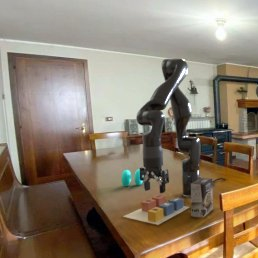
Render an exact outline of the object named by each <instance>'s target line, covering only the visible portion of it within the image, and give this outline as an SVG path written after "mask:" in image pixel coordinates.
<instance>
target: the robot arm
mask: <svg viewBox="0 0 258 258" xmlns="http://www.w3.org/2000/svg"><path fill="white" fill-rule="evenodd" d="M161 72H162V76H163V78H164V79H163V80H164V82H162V83H160V85H159V86H157V87H156V89H155V90H154V91H153V93H152V95H151V97H150V99H149V100H148V101H147V102H146V103H145V104H144V105H143V106H141V108H140V109H139V110H138V111H137V113H136V117H135V119H136V123H137V124H138V125H139V126H142V127H151V129H150V130H149V131H145V132H143V133H142V137H141V138H142V166H141V167H140V168H139V169H140V181H143V182H142V183H143V186H144V187H143V188H144V191H146V192H148V191H150V190H151V181H150V180H152V179H153V180H155V181H156V182H157V183H158V184H159V185H158V186H159V194H164V193H165V192H166V190H167V189H166V184H169V183H170V176H169V175H170V174H169V169H163V168H162V167H163V166H164V155H163V154H164V153H163V147H162V134H163V129H164V125H165V120H166V118H165V114H164V112H163V111H164V110H165V109H166V108H167V106H168V104H169V103H170V107H171V112H172V116H173V121H174V126H175V134H176V144H177V149H178V151H179V152H180V153H182V154H189V157H188V158H184V159H182V160H181V183H182V184H181V185H182V196H183V197H187V198H188V197H190V198H191V183H193V182H195V181H196V180H198V179H200V178H202V176H201V175H200V173H201V172H200V162H201V140H200V138H199V137H197V136H188V134H187V126H188V124H189V122H190V120H191V118H192V108H191V102H190V100H189V99H188V97H187V96H186V95H185V94H184V92H183V91H182V89H181V88H180V87H179V86H180V85H181V83H182V82H183V81H184V79H185V78H186V77H187V76H188V72H189V65H188V63H187V61H186V60H185V59H183V58H164V59H163V60H162V62H161ZM220 180H222V181H226V179H225V178H224V177H219V178H216V179H214V180H212V187H213V186H214V183H215V182H217V181H220Z"/></svg>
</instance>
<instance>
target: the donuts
mask: <svg viewBox="0 0 258 258" xmlns="http://www.w3.org/2000/svg"><path fill="white" fill-rule="evenodd" d="M133 178H134V184H135V185H137V186H141V185H142V184H143V183H144V182H143V181H140V168H138V169H136V170H135V172H134V177H133ZM131 182H132V172H131V171H130V170H129V169H124V170H123V172H122V173H121V184H122V186H123V187H129V186H130V184H131Z"/></svg>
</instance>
